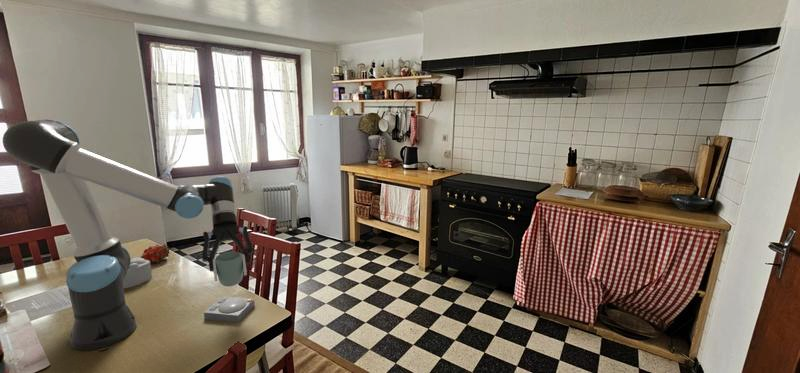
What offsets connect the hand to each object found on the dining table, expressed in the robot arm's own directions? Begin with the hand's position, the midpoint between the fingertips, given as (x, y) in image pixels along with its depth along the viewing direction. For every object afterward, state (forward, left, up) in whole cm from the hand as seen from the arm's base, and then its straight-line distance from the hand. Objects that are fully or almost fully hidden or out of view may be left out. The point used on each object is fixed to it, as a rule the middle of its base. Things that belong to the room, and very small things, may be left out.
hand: (231, 276), depth 110 cm
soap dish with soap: (+3, +3, -15) cm, 15 cm away
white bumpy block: (+17, +54, -15) cm, 59 cm away
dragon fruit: (+35, +59, -15) cm, 70 cm away
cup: (+3, +2, -4) cm, 6 cm away
